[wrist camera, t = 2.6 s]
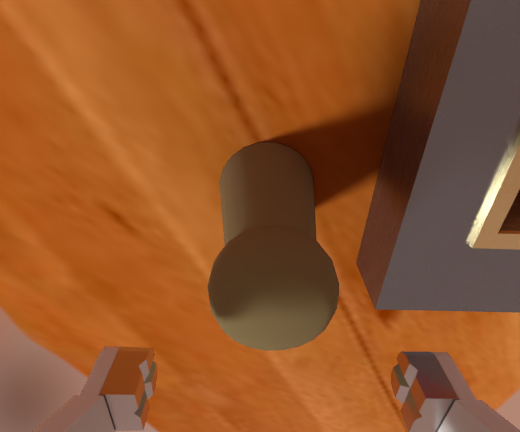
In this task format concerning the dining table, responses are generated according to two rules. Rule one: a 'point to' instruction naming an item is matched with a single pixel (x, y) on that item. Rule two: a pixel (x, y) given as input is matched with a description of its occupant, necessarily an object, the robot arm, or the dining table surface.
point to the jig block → (451, 167)
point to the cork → (271, 252)
